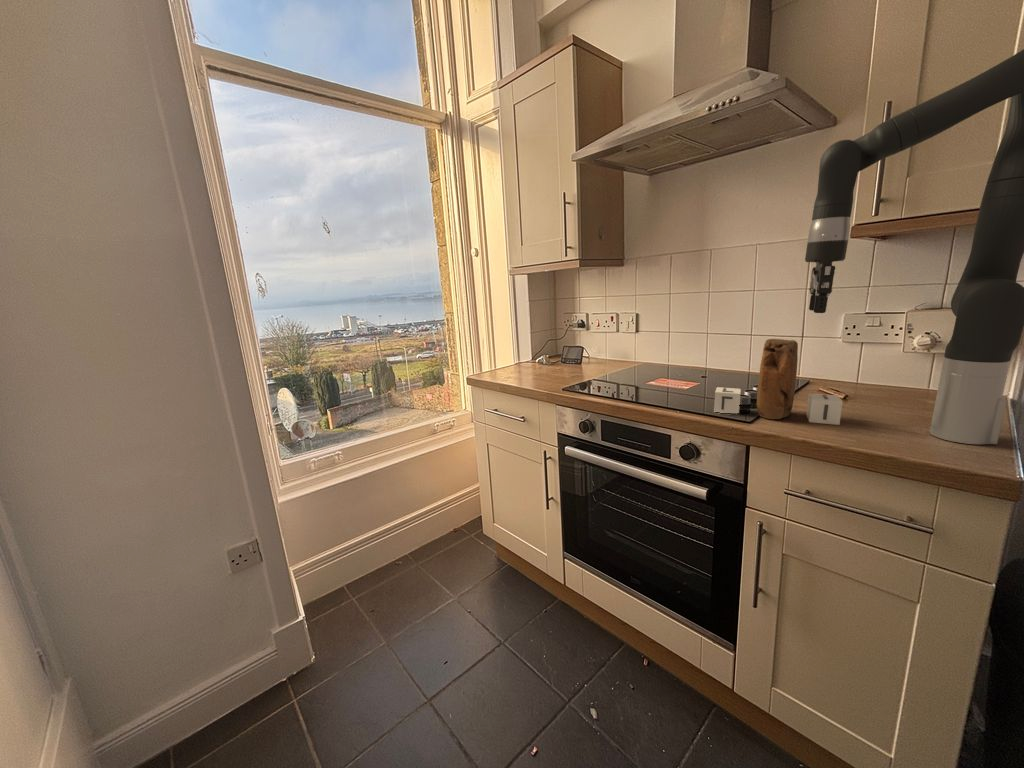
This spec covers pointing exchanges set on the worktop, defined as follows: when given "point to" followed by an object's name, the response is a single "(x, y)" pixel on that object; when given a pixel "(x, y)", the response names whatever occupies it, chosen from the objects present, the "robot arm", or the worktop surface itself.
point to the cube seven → (727, 400)
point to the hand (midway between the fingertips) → (816, 311)
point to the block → (777, 378)
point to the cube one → (824, 408)
